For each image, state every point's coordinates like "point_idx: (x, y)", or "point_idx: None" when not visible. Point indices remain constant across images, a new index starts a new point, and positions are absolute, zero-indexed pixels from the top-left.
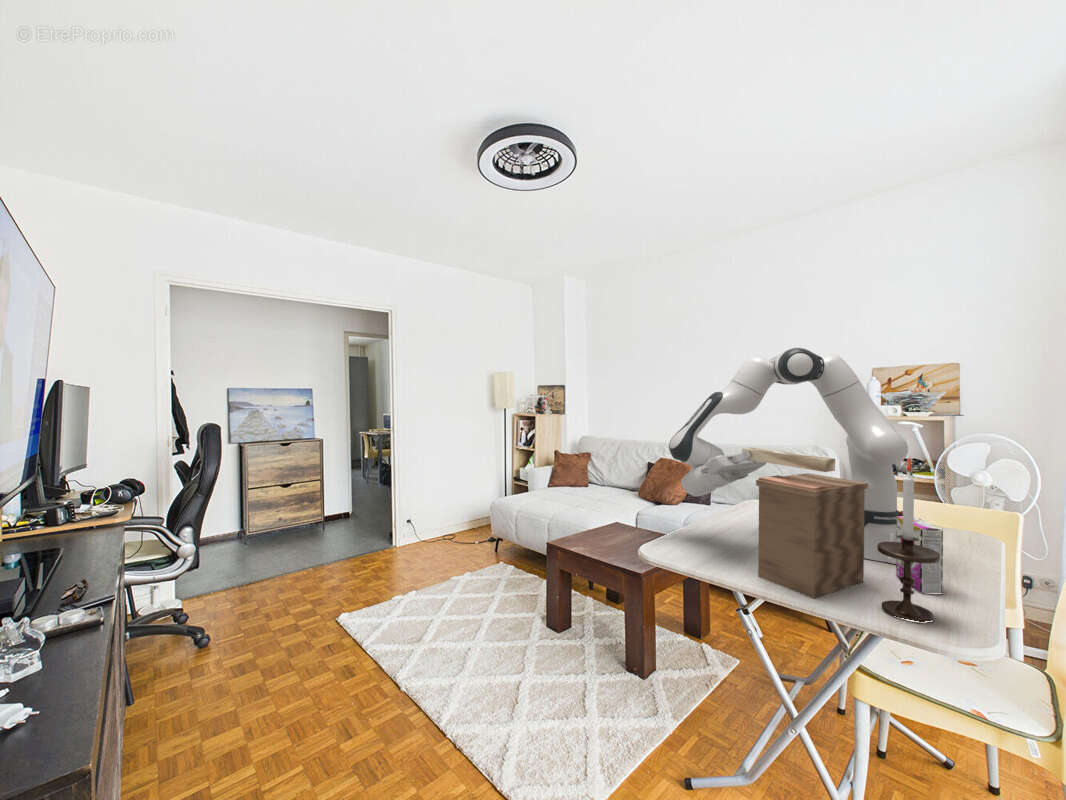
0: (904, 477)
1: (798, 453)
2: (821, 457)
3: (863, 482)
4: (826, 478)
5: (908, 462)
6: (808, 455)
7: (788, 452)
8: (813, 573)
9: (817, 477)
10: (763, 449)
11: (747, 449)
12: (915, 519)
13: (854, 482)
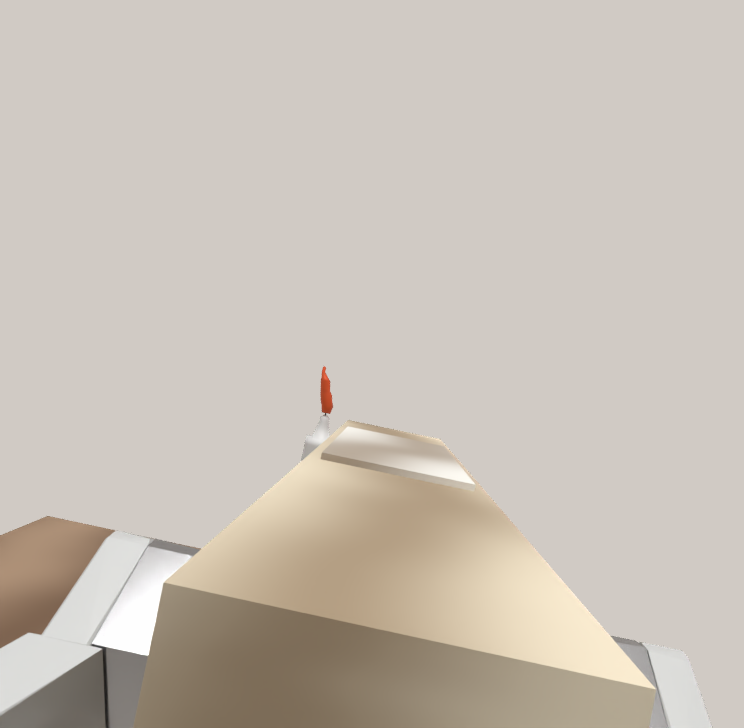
0: (315, 439)
1: (341, 434)
2: (368, 429)
3: (44, 521)
4: (12, 591)
5: (329, 384)
6: (381, 434)
7: (357, 446)
8: None
9: (2, 617)
10: (305, 503)
11: (589, 623)
12: None
13: (80, 537)
